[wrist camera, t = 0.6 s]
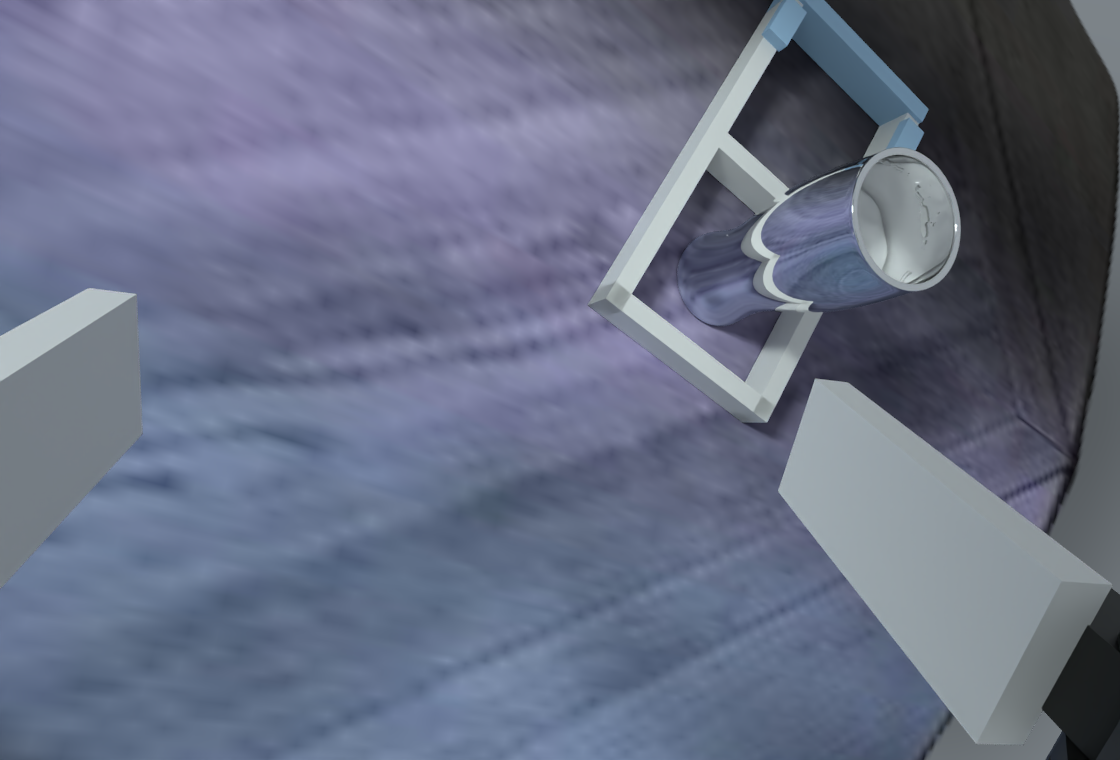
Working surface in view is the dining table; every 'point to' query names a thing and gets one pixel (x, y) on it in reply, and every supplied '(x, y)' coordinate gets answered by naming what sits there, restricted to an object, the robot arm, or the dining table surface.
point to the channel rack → (700, 153)
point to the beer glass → (829, 243)
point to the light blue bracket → (848, 64)
